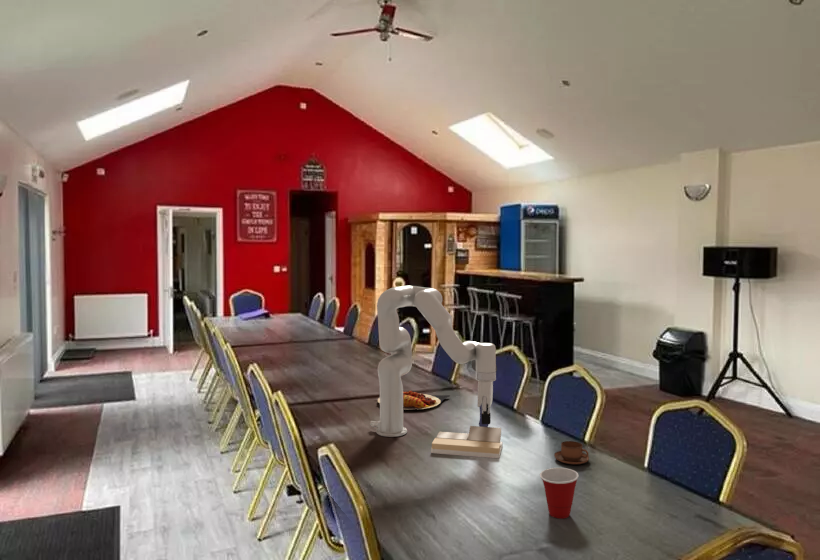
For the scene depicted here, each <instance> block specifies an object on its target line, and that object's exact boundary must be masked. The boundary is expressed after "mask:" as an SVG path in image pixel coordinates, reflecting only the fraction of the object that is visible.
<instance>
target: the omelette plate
mask: <svg viewBox="0 0 820 560" xmlns="http://www.w3.org/2000/svg"><path fill="white" fill-rule="evenodd" d="M450 396H451V395H447V394H445V395H444V394H443V395H437V394H436V395H432V394H431V395H430V394H425V393H423V392H422V393H418V392H417V391H416V392H415V391H414V392H413V391H412V390H409V391H403V411H404V410H405V411H406V410H408V411H409V410H410V411H412V410H415V409H421V410H424V409H430V408H434V407H437V406H438V405H440V404H441V403H442V402H443V401H444V400H445V399H447V398H450ZM377 403H379V404H380V396H379V397H378V398H377Z"/></svg>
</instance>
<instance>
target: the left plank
mask: <svg viewBox="0 0 820 560" xmlns="http://www.w3.org/2000/svg"><path fill="white" fill-rule="evenodd" d="M468 437H469V433H467V432H466V433H463V432H450V431H438V433H437V435H436V437H435V438H441V439H455V440H468Z"/></svg>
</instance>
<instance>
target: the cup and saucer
mask: <svg viewBox="0 0 820 560" xmlns="http://www.w3.org/2000/svg"><path fill="white" fill-rule="evenodd" d="M560 444H561V445H560V448H561V449H560V450H559V451H556V452H555V453H554V459H556V460H557V461H559V462H560V463H563V464H567V465H583V464H585V463H587V462H589V460H590V457H589V452H588V450H587V449H584V448H583V443H581V442H578V441H573V440H567V441H566V440H565V441H562V442H561V443H560ZM584 452H585V453H584Z"/></svg>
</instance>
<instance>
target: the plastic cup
mask: <svg viewBox="0 0 820 560" xmlns="http://www.w3.org/2000/svg"><path fill="white" fill-rule="evenodd" d="M539 477H540V479H541V481H542V483H543V487H544V493H545V500H546V503H547V510H548V511H547V512H548V513H549V516H551V517H552V518H554V519H567V518H569V517H570V515H571V510H572V505H573V502H574V501H573V500H574V496H575V490H576V486H577V483H578V482H577V481H578V479H579V473H578V472H577V471H576V470H574V469H571V468H566V467H551V468H547V469H544V470H542V471H541V472H540V473H539Z"/></svg>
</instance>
